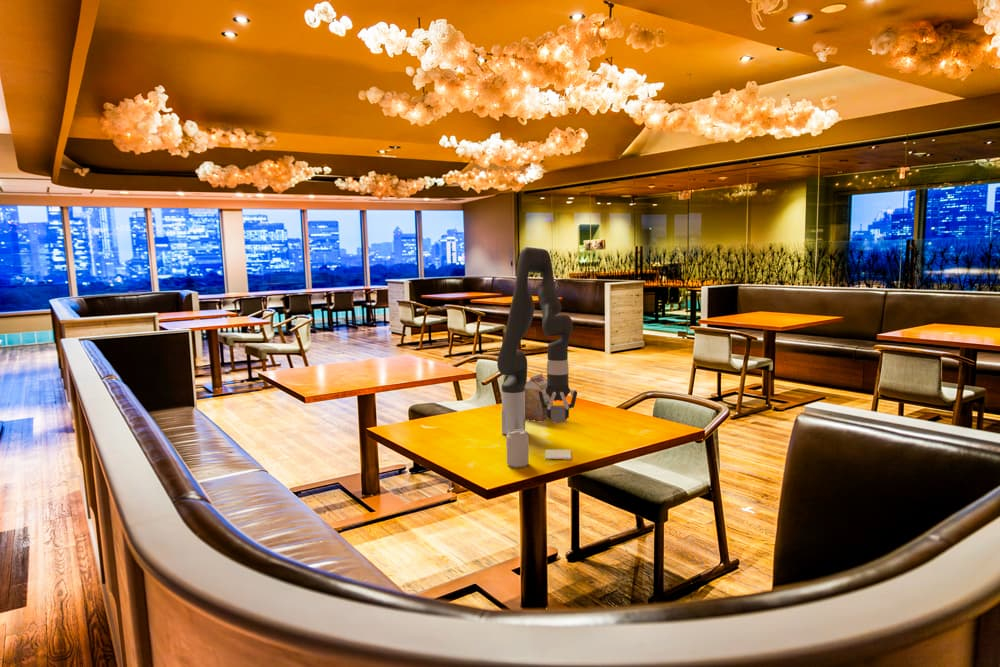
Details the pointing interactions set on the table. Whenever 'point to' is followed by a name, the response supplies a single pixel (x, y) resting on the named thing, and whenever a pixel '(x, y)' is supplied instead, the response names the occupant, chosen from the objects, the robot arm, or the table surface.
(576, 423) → the table surface
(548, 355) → the robot arm
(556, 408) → the cube
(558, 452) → the mat
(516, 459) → the can
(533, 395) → the milk carton
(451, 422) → the table surface
